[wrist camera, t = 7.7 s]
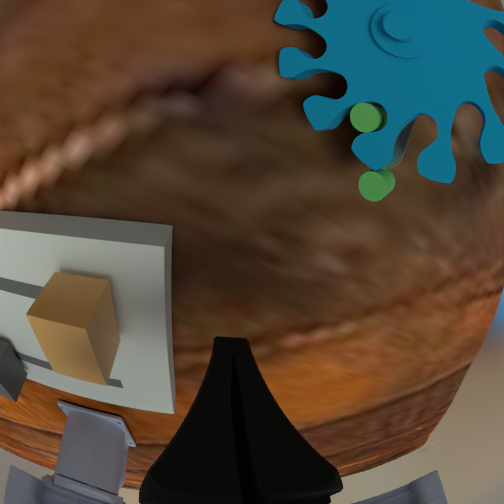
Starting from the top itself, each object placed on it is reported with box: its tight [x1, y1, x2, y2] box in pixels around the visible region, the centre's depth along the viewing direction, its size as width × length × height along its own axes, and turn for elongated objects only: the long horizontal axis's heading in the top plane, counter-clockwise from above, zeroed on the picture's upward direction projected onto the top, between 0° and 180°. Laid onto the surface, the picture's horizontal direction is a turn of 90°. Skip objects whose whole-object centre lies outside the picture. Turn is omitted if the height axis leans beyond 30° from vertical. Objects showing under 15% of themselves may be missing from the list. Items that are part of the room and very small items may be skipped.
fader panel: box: [0, 211, 176, 414], centre depth 14 cm, size 15×22×2 cm
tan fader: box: [26, 272, 121, 386], centre depth 11 cm, size 4×3×3 cm
